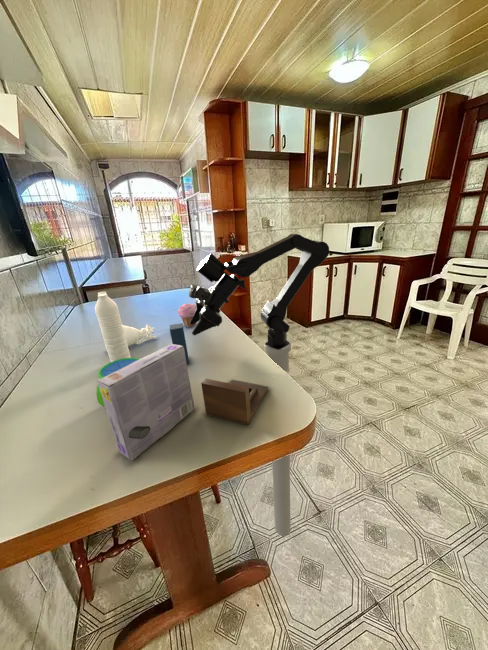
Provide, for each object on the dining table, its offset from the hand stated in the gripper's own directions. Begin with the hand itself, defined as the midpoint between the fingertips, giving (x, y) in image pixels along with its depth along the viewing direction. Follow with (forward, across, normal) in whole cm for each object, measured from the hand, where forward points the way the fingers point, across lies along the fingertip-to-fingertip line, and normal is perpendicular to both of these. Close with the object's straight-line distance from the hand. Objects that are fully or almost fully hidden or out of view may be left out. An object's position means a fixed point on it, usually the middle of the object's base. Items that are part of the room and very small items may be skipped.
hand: (192, 329), depth 85 cm
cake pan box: (+16, +29, +1) cm, 33 cm away
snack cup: (+22, +15, -6) cm, 27 cm away
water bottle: (+26, -7, -9) cm, 28 cm away
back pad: (+11, 0, +5) cm, 12 cm away
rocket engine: (+24, -20, -8) cm, 32 cm away
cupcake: (+8, -33, +8) cm, 35 cm away
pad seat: (+2, +26, +14) cm, 29 cm away
